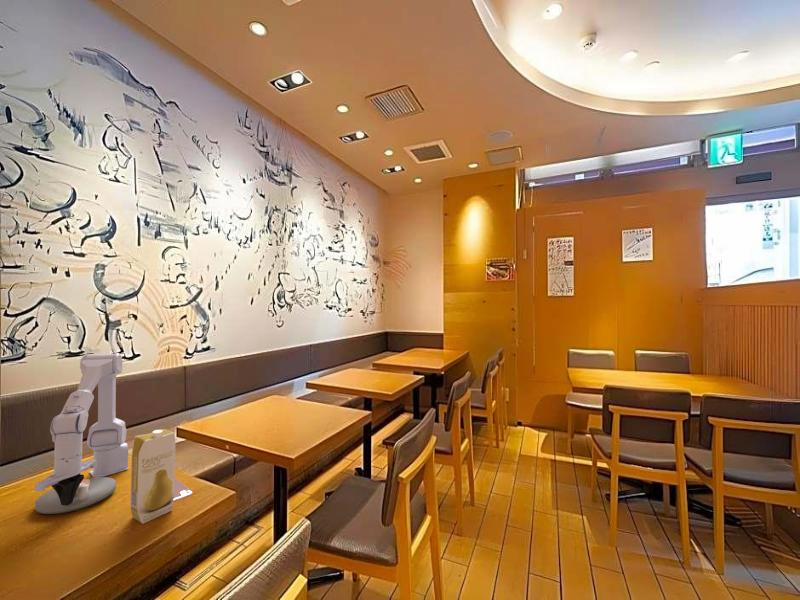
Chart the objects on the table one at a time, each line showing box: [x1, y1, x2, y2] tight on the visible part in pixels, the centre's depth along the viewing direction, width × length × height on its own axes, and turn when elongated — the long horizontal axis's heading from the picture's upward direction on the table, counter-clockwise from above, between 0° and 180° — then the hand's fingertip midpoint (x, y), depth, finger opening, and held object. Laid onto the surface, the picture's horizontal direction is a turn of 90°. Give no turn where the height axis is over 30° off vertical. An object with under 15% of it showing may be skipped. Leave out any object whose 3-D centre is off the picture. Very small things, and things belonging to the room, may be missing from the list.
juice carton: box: [130, 428, 176, 525], centre depth 99 cm, size 9×8×24 cm
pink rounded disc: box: [74, 478, 90, 497], centre depth 105 cm, size 6×6×2 cm
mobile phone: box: [173, 477, 193, 503], centre depth 111 cm, size 8×1×15 cm
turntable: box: [34, 476, 117, 515], centre depth 105 cm, size 18×18×5 cm
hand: (66, 503), depth 97 cm, fingers closed
